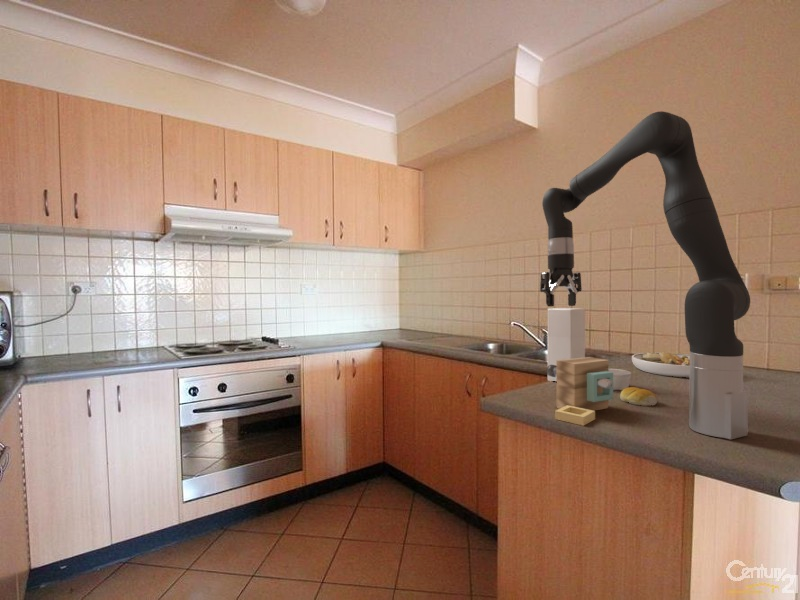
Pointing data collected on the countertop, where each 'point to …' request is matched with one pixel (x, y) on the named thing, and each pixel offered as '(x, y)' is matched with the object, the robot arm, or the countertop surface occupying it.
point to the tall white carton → (565, 335)
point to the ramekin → (620, 378)
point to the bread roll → (638, 396)
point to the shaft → (600, 382)
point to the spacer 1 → (575, 415)
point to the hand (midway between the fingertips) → (561, 306)
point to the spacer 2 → (592, 386)
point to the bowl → (663, 363)
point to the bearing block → (578, 382)
